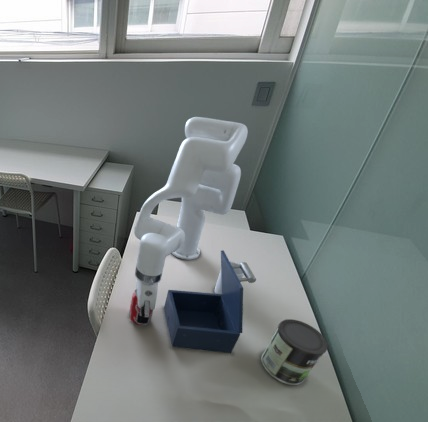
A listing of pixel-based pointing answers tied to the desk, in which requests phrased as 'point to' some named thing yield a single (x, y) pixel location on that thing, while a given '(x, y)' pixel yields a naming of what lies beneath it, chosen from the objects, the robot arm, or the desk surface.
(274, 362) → the coffee can
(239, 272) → the mug
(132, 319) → the soda can
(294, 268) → the desk surface
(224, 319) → the bin
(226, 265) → the bin lid
